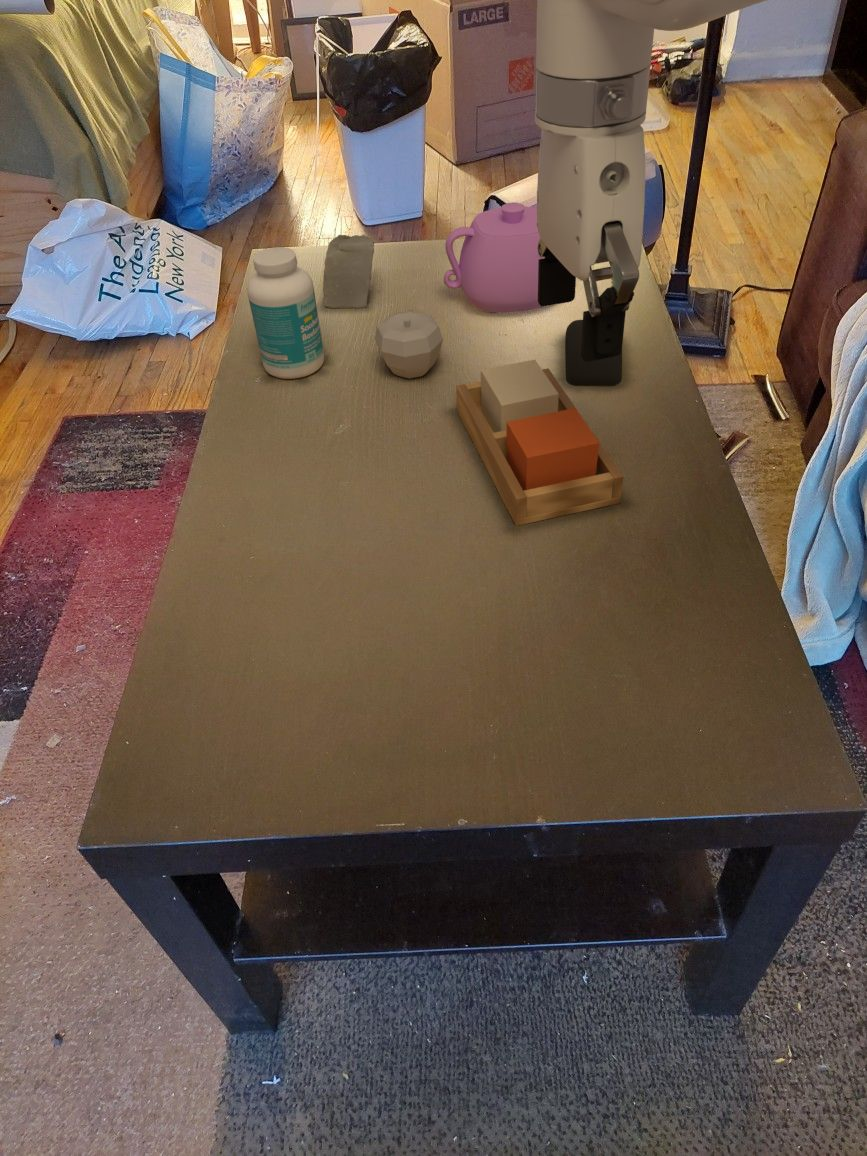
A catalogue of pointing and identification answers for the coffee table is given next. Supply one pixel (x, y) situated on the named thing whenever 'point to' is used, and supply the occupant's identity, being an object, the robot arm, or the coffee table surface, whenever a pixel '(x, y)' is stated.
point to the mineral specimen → (348, 271)
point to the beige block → (516, 393)
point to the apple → (409, 343)
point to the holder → (542, 499)
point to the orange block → (551, 449)
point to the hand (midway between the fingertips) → (577, 328)
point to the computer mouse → (592, 371)
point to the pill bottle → (285, 315)
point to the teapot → (498, 260)
